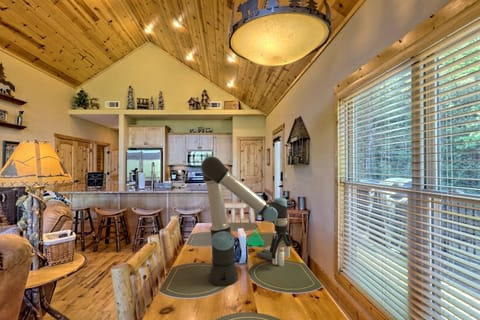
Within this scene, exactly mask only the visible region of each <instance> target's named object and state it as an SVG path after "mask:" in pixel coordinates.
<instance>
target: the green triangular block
mask: <svg viewBox="0 0 480 320" xmlns="http://www.w3.org/2000/svg"><path fill="white" fill-rule="evenodd" d="M247 244H248V245H247ZM246 245H247V246H252V247H260V246H265V242H264V239H262V237H261V236H260V234H259V232H258V231H256V230H254V231H252V233H251V235H250V237H249V238H248V239H247V240H246Z"/></svg>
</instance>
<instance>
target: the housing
mask: <svg viewBox="0 0 480 320" xmlns="http://www.w3.org/2000/svg"><path fill="white" fill-rule="evenodd" d="M270 247H271V245H269V246H267V247H265V248H263V249H261V250H258V251H257V252H256V257H257V258H260V259H264V260H267V261H270V262H272V253H271V252H270ZM276 253H277V262H278V248H277V251H276ZM284 258H286V257H285V249H284Z"/></svg>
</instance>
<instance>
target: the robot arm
mask: <svg viewBox="0 0 480 320" xmlns="http://www.w3.org/2000/svg"><path fill="white" fill-rule="evenodd" d="M200 170H201V172H202V173H201V174H202V180H203V182H204V183H205V184H206V189H207V196H208V204H209V210H210V217H211V226H210V228H209V229H210V230H209V231H210V236H211V239H210V240H211V262H212V263H211V268H210V272H209V275H208V282H209V281H210V282H209V283H210V284H212V285H213V286H217V287H218V286H220V287H227V286H231V285H233V284H235V283H237V282H238V280H239V275H238V272H237V269H236V268H237V267H236V264H235V241H236V240H235V235H234V234H233V233H232V231H231V230H232V229H231V224H230V223H228V220H227V213H226V205H225V204H226V203H225V198H224V192H223V187H224V188H225V189H227V190H228V191H229V192H230V193H232V194H233V195H234V196H236V198H238V199H239V200H241V201H242V202H243V203H244V204H246V205H247V206H248V207H250V209H252V210H253V212H254V215H255V216H261V217H262V218H263V219H264V220H265V221H267V222H270V223H272V222H274V226H273V227H274V231H275V234H272V239H271V244H270V246H271V247H270V252H271V253H272V261H271V262H272V264H273V265H277V266H278V261H277V253H276V251H277V248H278V247H280V246H279V245H280V243H281V242H282V241H283V243H284V244H285V246H284V250H285V257H284V258H288V259H289V258H291V257H290V251H291V249H290V247H292V244H293V242H292V239H291V237H290V232H289V230H288V199H286V198H285V197H284V198H283V197H275V198H274V199H273V201H266V200H265V199H263V198H262V197H261V196H260V195H258V194H257V193H256V192H254V190H252V189H251V188H249V187H248V186H247V185H246V184H245V183H243V182H242V181H241V180H240V179H238V178H237V177H236V176H234V174H232V173H231V172H230V169H229V168H228V167H226V165H224V163H223V162H222V161H221V160H220V158H218V157H216V156H208V157H206V158H204V159H203V160H202V162H201V165H200Z"/></svg>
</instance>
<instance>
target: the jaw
mask: <svg viewBox="0 0 480 320" xmlns="http://www.w3.org/2000/svg"><path fill="white" fill-rule="evenodd" d="M284 250H285V247H284V246H283V247H282V246H278V261H277V266H278V267H284V266H285V257H284Z"/></svg>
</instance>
